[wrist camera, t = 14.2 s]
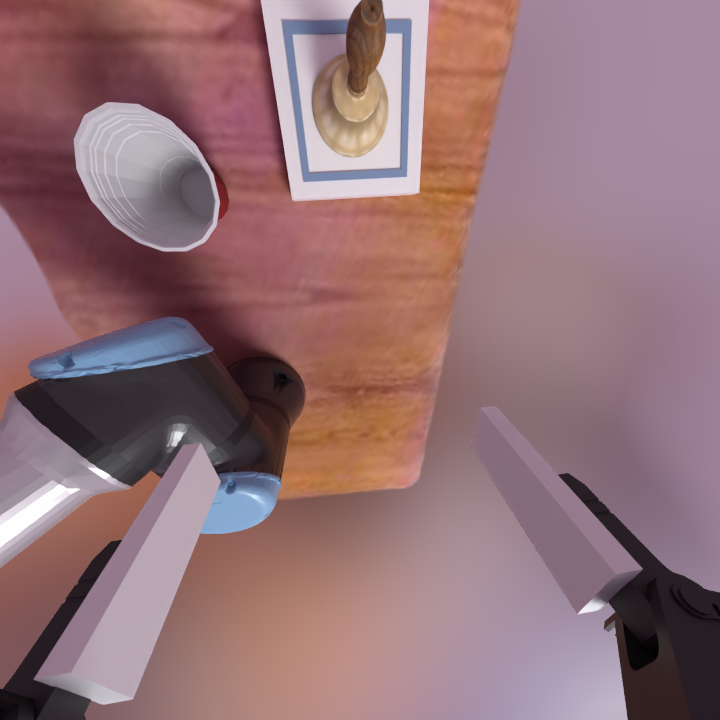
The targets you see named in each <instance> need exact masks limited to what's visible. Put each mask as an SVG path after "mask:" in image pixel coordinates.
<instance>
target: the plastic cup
mask: <svg viewBox="0 0 720 720" xmlns="http://www.w3.org/2000/svg"><path fill="white" fill-rule="evenodd" d="M74 148H75V158H76V169H77V172H78V174H79V176H80V178H81V180H82V182H83V184H84V186H85V189H86V191H87V193H88V195H89V197H90V199H91V201H92V202H93V203H94V204H95V205H96V206H97V208H98V209H99V210H100V211H101V212H102V213H103V214H104V216H105V217H106V218H107V219H108V220H109V221H110V223H111V224H112V225H113V226H115V227H116V228H118V229H119V230H121V231H122V232H123V233H125V234H126V235H128V236H129V237H131V238H132V239H134V240H135V241H136V242H138V243H141V244H143V245H146V246H149V247H152V248H155V249H158V250H161V251H188V250H190V249H192V248H194V247H197V246H199V245H201V244H203V243H205V242H206V240H207V239H208V237H209V236H210V235H211V233H212V232H213V230H214V229H215V227H216V226H217V222H218V220H219V219H221V218H222V217H223V216H224V215H225V213H226V212H227V209H228V203H229V199H228V194H227V189H226V188H225V186H224V184H223V182H222V180H221V179H220V178H219V177H218V176H217V175H216V173H215V172H214V171H213V170H212V169H211V168H210V167H209V166H208V164H207V162H206V161H205V159H204V157H203V156H202V154H201V152H200V151H199V149H198V147H197V146H196V144H195V143H194V142H193V141H192V140H190V139H189V138H188V137H187V136H186V135H185V134H184V133H183V132H182V131H181V130H180V129H179V128H178V127H177V126H176V125H175V124H174V123H173V122H172V121H171V120H169V119H167V118H165V117H163V116H161V115H159V114H157V113H155V112H153V111H151V110H149V109H147V108H145V107H143V106H141V105H139V104H130V103H115V102H107V103H105V104H103V105H101V106H99V107H98V108H96V109H94V110H92V111H90V112H89V113H87V114H85V115H84V117H83V119H82V121H81V124H80V126H79V128H78V131H77V133H76V135H75V138H74Z"/></svg>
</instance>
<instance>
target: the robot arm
mask: <svg viewBox="0 0 720 720" xmlns="http://www.w3.org/2000/svg"><path fill="white" fill-rule="evenodd" d="M213 350H214V349H213V347H212V346H211V345H208V343H207V342H206V341H205V340H204V338H203V337H202V336H201V335H200V334H199V332H198V331H197V330H196V329H195V328H194V326H193V325H192V324H191V323H190V322H188V321H187V320H185V319H183V318H179V317H163V318H159V319H155V320H151V321H147V322H144V323H140V324H137V325H133V326H130V327H127V328H124V329H120V330H117V331H114V332H111V333H107V334H104V335H101V336H98V337H95V338H92V339H89V340H86V341H83V342H80V343H77V344H75V345H72V346H69V347H66V348H64V349H61V350H59V351H56V352H53V353H50V354H46V355H44V356H41V357H39V358H36V359H34V360H33V361H31V362H30V363H29V365H28V368H29V370H30V375H31V376H32V377H33V378H35V379H37V378H39V379H38V380H37V381H35V382H33V383H31V384H29V385H27V386H25V387H23V388H21V389H19V390H16V391H14V392H12V393H10V394H9V395H8V398H7V401H6V404H5V408H4V411H3V414H2V418H1V419H0V568H1V567H2V566H3V565H5V564H6V563H7V562H8V561H10V560H11V559H12V558H14V557H15V556H16V555H17V554H19V553H20V552H21V551H22V550H24V549H25V548H26V547H28V546H29V545H30V544H31V543H33V542H34V541H35V540H37V539H38V538H39V537H40V536H42V535H43V534H44V533H46V532H47V531H48V530H49V529H51V528H52V527H53V526H55V525H56V524H57V523H58V522H60V521H61V520H62V519H64V517H66V516H67V515H69V514H70V513H71V512H72V511H74V510H75V509H76V508H78V507H79V506H80V505H81V504H83V503H84V502H85V501H87V500H88V499H89V498H90V497H91V496H94V495H97V494H100V493H105V492H112V491H120V490H127V489H129V488H131V487H132V486H133V485H134V484H136V483H137V482H138V481H139V480H141V479H142V478H143V477H144V476H145V475H147V474H148V473H149V472H150V471H153V472H154V473H156V474H157V475H158V476H159V477H160V478H162V479H161V480H160V482H159V484H158V485H157V487H156V488H155V490H154V491H153V493H152V494H151V496H150V498H149V499H148V501H147V502H146V504H145V505H144V507H143V509H142V510H141V512H140V513H139V515H138V516H137V518H136V520H135V521H134V523H133V524H132V526H131V528H130V529H129V531H128V532H127V534H126V535H125V537H124V538H123V540H118V541H112V542H110V543H109V544H108V545H107V546H106V547H105V548H104V549H103V550H102V551H101V552H100V553H99V554H98V555H97V556H96V557H95V558H94V559H93V560H92V562H91V563H90V564H89V566H88V568H87V569H86V570H85V572H84V573H83V575H82V576H81V578H80V579H79V580H78V584H77V585H75V586H74V588H73V589H72V591H71V592H70V594H69V595H68V596H67V598H66V602H65V603H64V604H62V606H61V607H60V608H59V610H58V611H57V612H56V614H55V615H54V617H53V618H52V620H51V621H50V623H49V624H48V625H47V627H46V628H45V630H44V631H43V633H42V634H41V636H40V637H39V639H38V640H37V642H36V643H35V644H34V646H33V647H32V649H31V650H30V652H29V653H28V655H27V656H26V657H25V659H24V660H23V662H22V663H21V665H20V666H19V668H18V669H17V670H16V672H15V674H14V675H13V676H12V678H11V679H10V680H9V682H8V683H7V684H6V685H5V687H4V688H3V689H0V720H86V718H85V715H84V713H85V711H86V709H87V707H88V705H89V703H90V701H91V700H92V701H95V702H97V703H100V704H103V705H105V704H110V703H115V702H120V701H126V700H131V699H133V698H134V695H135V693H136V690H137V688H138V685H139V683H140V680H141V678H142V675H143V673H144V671H145V668H146V666H147V663H148V661H149V658H150V656H151V653H152V651H153V648H154V646H155V643H156V641H157V638H158V636H159V633H160V631H161V629H162V626H163V624H164V621H165V618H166V616H167V614H168V611H169V608H170V606H171V604H172V601H173V599H174V596H175V594H176V591H177V589H178V586H179V584H180V581H181V579H182V576H183V574H184V572H185V569H186V567H187V564H188V562H189V559H190V557H191V554H192V552H193V549H194V547H195V544H196V542H197V539H198V537H199V535H200V533H203V534H223V533H231V532H236V531H240V530H244V529H247V528H250V527H252V526H255V525H257V524H258V523H260V522H262V521H263V520H264V519H265V518H267V517H268V516H269V514H270V513H271V511H272V510H273V508H274V507H275V504H276V501H277V497H278V493H279V490H280V488H281V485H282V481H281V478H282V472H283V466H284V460H285V455H286V449H287V443H288V437H289V431H290V428H291V427H292V425H293V424H294V422H295V421H296V419H297V418H298V417H299V415H300V413H301V412H302V409H303V406H304V401H305V387H304V384H303V382H302V380H301V378H300V377H299V375H298V374H297V373H296V372H295V371H294V370H293V369H292V368H290V367H289V366H288V365H286V364H284V363H282V362H280V361H277V360H274V359H270V358H262V357H256V358H249V359H245V360H242V361H239V362H237V363H235V364H234V365H232V366H231V367H230V368H229V369H228V370H227V369H226V368H225V366H224V365H223V364H222V362H221V361H220V360H219V358H218V357H217V355H216V354H215V353H214V351H213ZM472 449H473V451H474V452H475V454H476V455H477V457H478V459H479V460H480V462H481V463H482V465H483V467H484V468H485V470H486V471H487V473H488V474H489V476H490V478H491V479H492V481H493V482H494V484H495V485H496V487H497V488H498V490H499V492H500V493H501V495H502V496H503V498H504V500H505V501H506V503H507V504H508V506H509V507H510V509H511V511H512V512H513V514H514V515H515V517H516V518H517V520H518V522H519V523H520V525H521V526H522V528H523V529H524V531H525V533H526V534H527V536H528V537H529V539H530V540H531V542H532V543H533V545H534V547H535V548H536V550H537V552H538V553H539V555H540V556H541V558H542V559H543V561H544V563H545V564H546V566H547V567H548V569H549V570H550V572H551V574H552V575H553V577H554V578H555V580H556V581H557V583H558V584H559V586H560V588H561V589H562V591H563V593H564V594H565V596H566V597H567V599H568V600H569V602H570V603H571V605H572V607H573V608H574V610H575V611H576V613H577V614H581V613H586V612H592V611H597V610H600V609H601V608H603V606H605V605H606V604H607V603H608V602H609V604H610V605H611V606H612V608H613V609H614V610H615V613H614V614H613V615H612V616H610V617H609V618H608V619H607V620H606V621H605V625H604V630H606V631H608V632H609V631H610V630H611V629H613V628H614V627H615V629H616V634H615V636H616V637H617V643H618V651H619V658H620V664H621V673H622V679H623V687H624V695H625V702H626V709H627V717H628V720H720V593H719V592H714V591H709V590H706V589H704V588H702V587H701V586H700V585H699V584H697V583H695V582H693V581H692V580H690V579H688V578H686V577H685V576H682V575H679V574H676V573H673V572H672V571H670V570H669V569H668V568H666V567H665V566H664V565H663V564H662V563H661V562H660V561H659V560H658V559H657V558H656V557H655V556H654V555H653V554H652V553H651V552H650V551H649V550H648V549H647V548H646V547H645V546H644V545H643V544H642V543H641V542H640V541H639V540H638V539H637V538H636V537H635V536H634V535H633V534H632V533H631V532H630V531H629V530H628V529H627V528H626V527H625V526H624V525H623V523H621V521H620V520H619V519H618V518H617V517H616V516H615V515H614V514H611V513H610V510H609V509H608V508H607V507H606V506H605V505H604V504H603V503H602V502H600V501H599V500H598V498H597V497H596V496H595V495H594V494H593V493H592V492H591V491H590V490H589V488H588V487H587V486H585V484H583V483H582V482H580V481H579V480H577V479H576V478H574V477H573V476H571V475H570V474H568V473H566V474H560V475H557V473H556V472H555V471H554V470H553V469H552V468H551V467H550V466H549V465H548V464H547V463H546V461H545V460H544V459H543V458H542V457H541V456H540V455H539V454H538V452H537V451H536V450H535V449H534V448H533V447H532V446H531V445H530V444H529V443H528V442H527V440H526V439H525V438H524V437H523V436H522V435H521V434H520V433H519V432H518V430H516V428H515V427H514V426H513V425H512V424H511V423H510V422H509V420H508V419H507V418H506V417H505V416H504V415H503V414H502V413H501V412H500V410H499V409H498V408H497V407H496V406H493V407H484V408H480V412H479V417H478V421H477V425H476V430H475V434H474V439H473V443H472Z"/></svg>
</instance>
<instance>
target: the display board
mask: <svg viewBox="0 0 720 720" xmlns="http://www.w3.org/2000/svg"><path fill="white" fill-rule="evenodd" d="M360 1H361V0H261V5H262V11H263V17H264V24H265V30H266V36H267V43H268V49H269V56H270V62H271V68H272V75H273V81H274V87H275V94H276V100H277V107H278V113H279V119H280V126H281V132H282V138H283V145H284V151H285V158H286V164H287V170H288V177H289V183H290V189H291V196H292V200H294V201H308V200H326V199H344V198H362V197H380V196H398V195H413V194H416V193H419V185H420V166H421V146H422V127H423V107H424V88H425V68H426V48H427V29H428V9H429V0H382V2H383V12H384V17H385V23H386V42H385V47H384V51H383V55H382V57H381V60H380V62H379V64H378V66H377V67H376V69H377V71H378V72H379V74H380V76H381V77H382V80H383V82H384V85H385V88H386V91H387V96H388V120H387V124H386V128H385V131H384V133H383V136H382V137H381V139H380V141H379V142H378V144H377V145H376V146H375V147H374V148H373V149H372V150H371V151H370V152H368V153H367V154H365V155H363V156H359V157H344V156H342V155H340V154H338V153H336V152H335V151H333V150H332V149H331V148H330V147H329V146H328V145H327V144H326V143H325V142H324V140H323V139H322V137H321V135H320V134H319V131H318V129H317V127H316V123H315V120H314V115H313V105H312V99H313V91H314V86H315V82H316V80H317V77H318V75H319V73H320V71H321V70H322V68H323V67H324V66H325V64H326V63H327V62H328V61H330V60H331V59H332V58H334V57H335V56H338V55H341V54H345V53H346V32H347V26H348V22H349V19H350V16H351V14H352V12H353V10H354V8H355V7H356V6H357V4H358V3H359V2H360Z"/></svg>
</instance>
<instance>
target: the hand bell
mask: <svg viewBox="0 0 720 720" xmlns="http://www.w3.org/2000/svg"><path fill="white" fill-rule="evenodd" d="M385 42H386V23H385V17H384V12H383V2H382V0H361V1H360V2H359V3H358V4H357V6H356V7H355V8H354V10H353V12H352V14H351V16H350V19H349V22H348V26H347V32H346V53H345V54H341V55H338V56H335V57H334V58H332V59H331V60H330V61H328V62H327V63H326V64H325V66H324V67H323V68H322V70H321V71H320V73H319V75H318V77H317V80H316V82H315V86H314V91H313V99H312V105H313V115H314V120H315V123H316V127H317V129H318V131H319V134H320V135H321V137H322V139H323V140H324V142H325V143H326V144H327V145H328V146H329V147H330V148H331V149H332V150H333V151H335V152H336V153H338V154H340V155H342V156H344V157H359V156H363V155H365V154H367V153H368V152H370V151H371V150H372V149H373V148H374V147H375V146H376V145H377V144H378V142H379V141H380V139H381V137H382V136H383V133H384V131H385V128H386V124H387V120H388V96H387V91H386V88H385V85H384V82H383V80H382V77H381V76H380V74H379V72H378V71H377V69H376V67H377V66H378V64H379V62H380V60H381V57H382V55H383V51H384V47H385Z"/></svg>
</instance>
